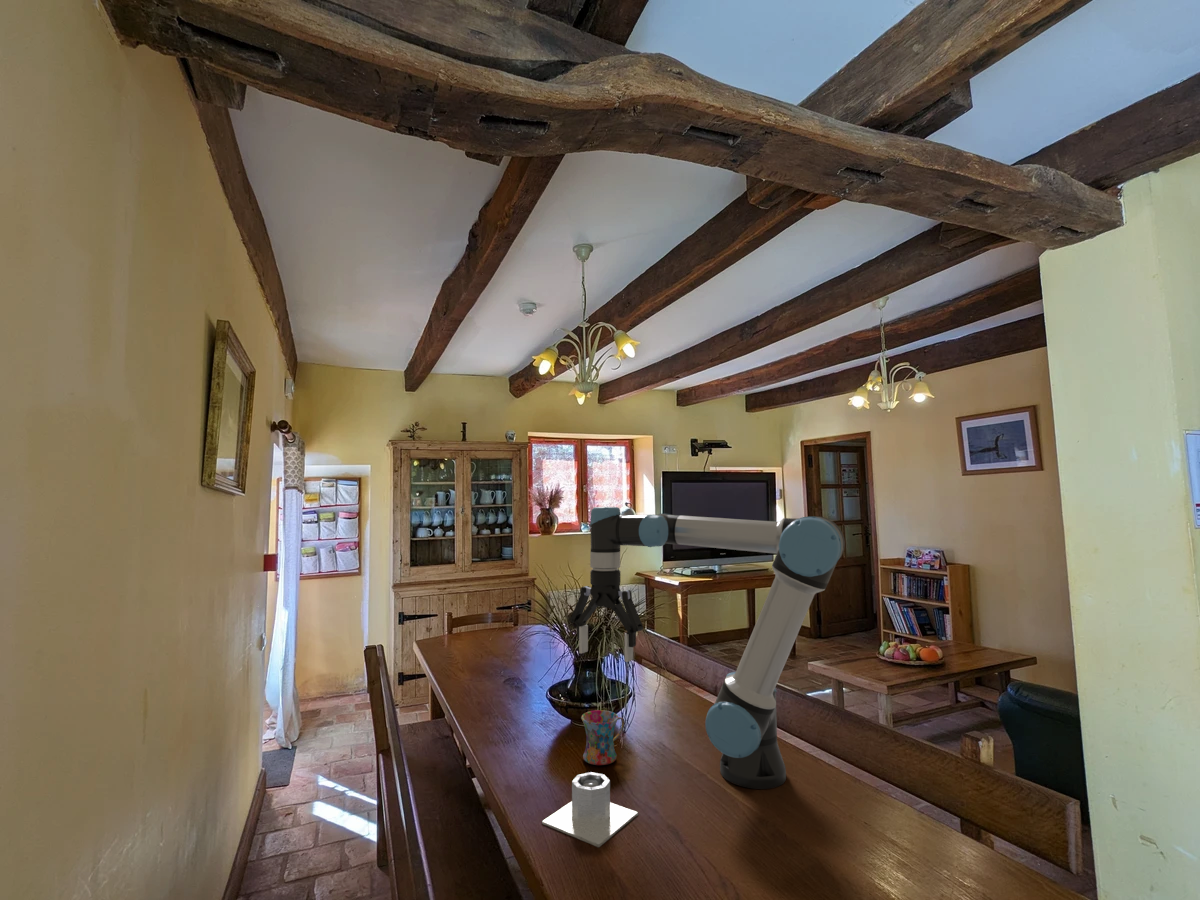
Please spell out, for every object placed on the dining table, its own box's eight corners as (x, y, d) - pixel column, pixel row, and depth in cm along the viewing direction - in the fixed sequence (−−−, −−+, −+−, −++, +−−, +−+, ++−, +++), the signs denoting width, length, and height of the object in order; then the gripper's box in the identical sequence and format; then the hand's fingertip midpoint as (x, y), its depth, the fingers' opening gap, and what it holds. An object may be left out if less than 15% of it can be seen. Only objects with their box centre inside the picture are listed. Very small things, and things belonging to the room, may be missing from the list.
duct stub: (637, 814, 120) (637, 779, 121) (598, 847, 109) (598, 808, 109) (583, 795, 128) (583, 762, 129) (542, 823, 117) (542, 787, 117)
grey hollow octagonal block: (599, 804, 123) (599, 770, 124) (614, 821, 117) (614, 785, 117) (568, 812, 120) (568, 776, 121) (581, 829, 114) (581, 792, 114)
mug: (593, 772, 139) (593, 726, 140) (574, 757, 147) (574, 714, 148) (634, 760, 146) (634, 716, 146) (614, 747, 153) (614, 705, 154)
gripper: (656, 570, 141) (657, 660, 139) (575, 564, 155) (574, 646, 153) (640, 573, 135) (641, 667, 133) (557, 567, 149) (556, 652, 147)
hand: (605, 656), depth 143 cm, fingers open, 13 cm apart
